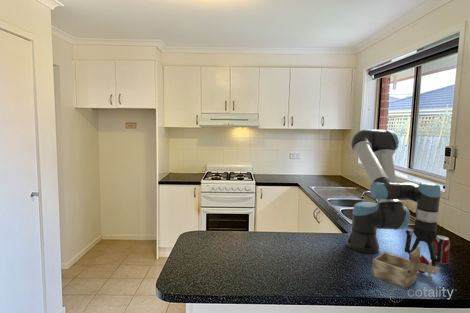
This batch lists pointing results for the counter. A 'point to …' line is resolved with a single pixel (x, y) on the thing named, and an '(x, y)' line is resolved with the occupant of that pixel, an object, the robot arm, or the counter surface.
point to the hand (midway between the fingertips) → (420, 272)
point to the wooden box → (394, 270)
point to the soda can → (444, 252)
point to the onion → (424, 261)
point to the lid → (420, 266)
